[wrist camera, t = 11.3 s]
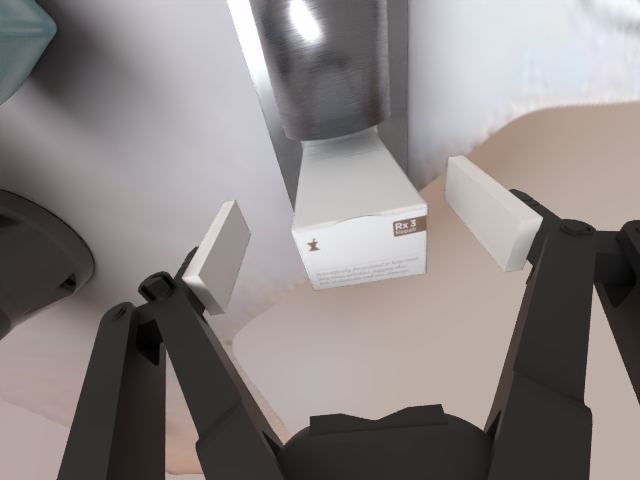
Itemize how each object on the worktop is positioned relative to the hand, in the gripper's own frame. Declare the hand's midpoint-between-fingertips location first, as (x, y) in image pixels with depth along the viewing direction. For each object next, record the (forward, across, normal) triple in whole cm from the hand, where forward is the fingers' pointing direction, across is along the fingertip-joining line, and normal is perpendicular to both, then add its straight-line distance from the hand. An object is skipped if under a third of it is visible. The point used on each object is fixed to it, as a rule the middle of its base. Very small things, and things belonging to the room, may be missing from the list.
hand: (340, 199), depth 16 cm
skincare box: (+7, +1, 0) cm, 7 cm away
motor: (+9, +1, +5) cm, 10 cm away
